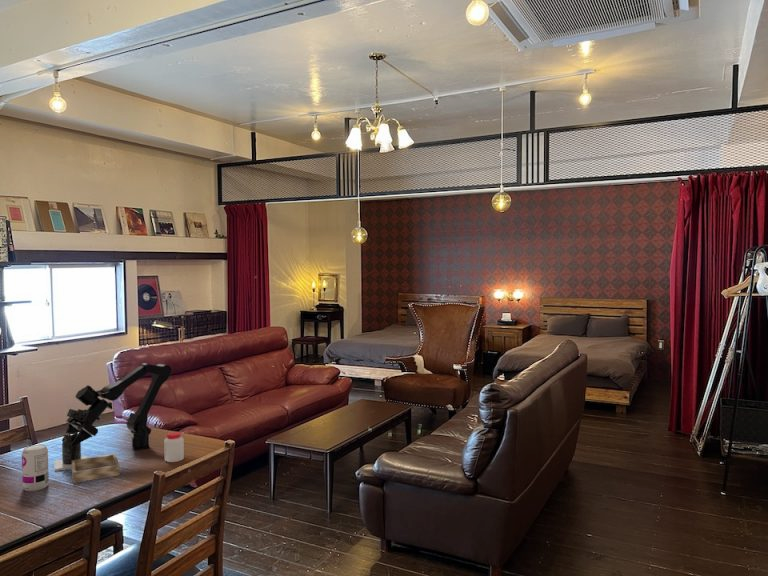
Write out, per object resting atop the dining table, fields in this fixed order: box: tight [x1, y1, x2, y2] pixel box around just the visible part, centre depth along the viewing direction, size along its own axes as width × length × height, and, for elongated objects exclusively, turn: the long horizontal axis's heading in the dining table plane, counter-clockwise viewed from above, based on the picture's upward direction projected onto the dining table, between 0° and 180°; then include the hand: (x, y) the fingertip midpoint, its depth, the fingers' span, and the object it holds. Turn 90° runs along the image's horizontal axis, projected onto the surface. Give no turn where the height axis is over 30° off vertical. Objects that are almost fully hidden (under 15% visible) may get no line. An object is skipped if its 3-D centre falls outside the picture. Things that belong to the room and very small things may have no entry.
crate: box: [71, 453, 121, 484], centre depth 225 cm, size 16×16×4 cm
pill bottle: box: [163, 431, 185, 463], centre depth 241 cm, size 8×8×11 cm
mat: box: [54, 455, 88, 472], centre depth 235 cm, size 12×12×1 cm
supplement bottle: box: [61, 432, 82, 464], centre depth 235 cm, size 7×7×12 cm
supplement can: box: [21, 444, 50, 492], centre depth 210 cm, size 8×8×15 cm
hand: (67, 443), depth 234 cm, fingers open, 9 cm apart
